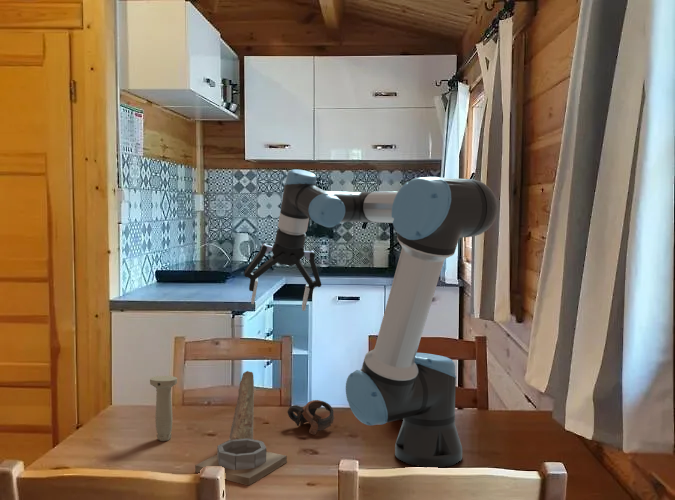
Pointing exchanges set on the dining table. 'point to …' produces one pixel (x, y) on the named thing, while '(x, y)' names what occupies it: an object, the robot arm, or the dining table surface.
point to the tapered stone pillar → (244, 409)
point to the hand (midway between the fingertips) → (278, 305)
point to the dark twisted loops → (311, 415)
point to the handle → (163, 405)
